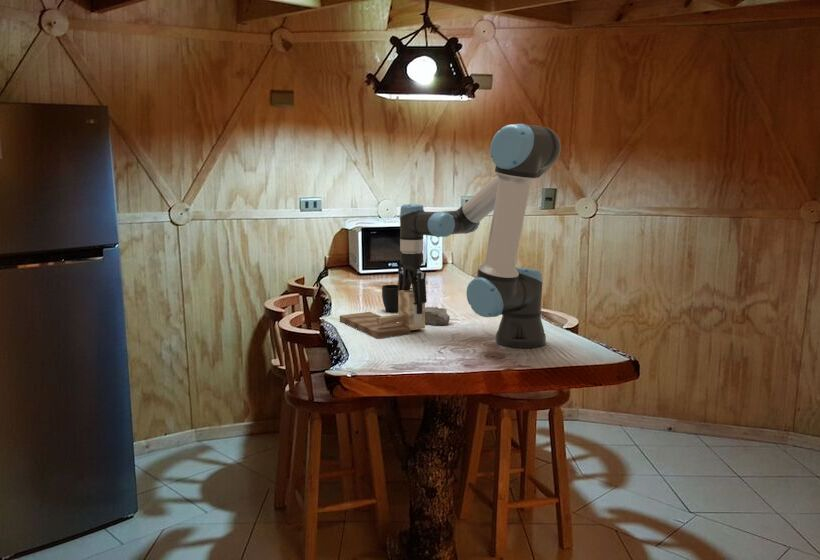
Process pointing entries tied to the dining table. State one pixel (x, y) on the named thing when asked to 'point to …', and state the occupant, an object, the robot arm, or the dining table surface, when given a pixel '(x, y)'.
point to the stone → (436, 316)
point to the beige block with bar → (405, 312)
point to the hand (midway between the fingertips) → (411, 320)
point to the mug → (390, 298)
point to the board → (374, 325)
